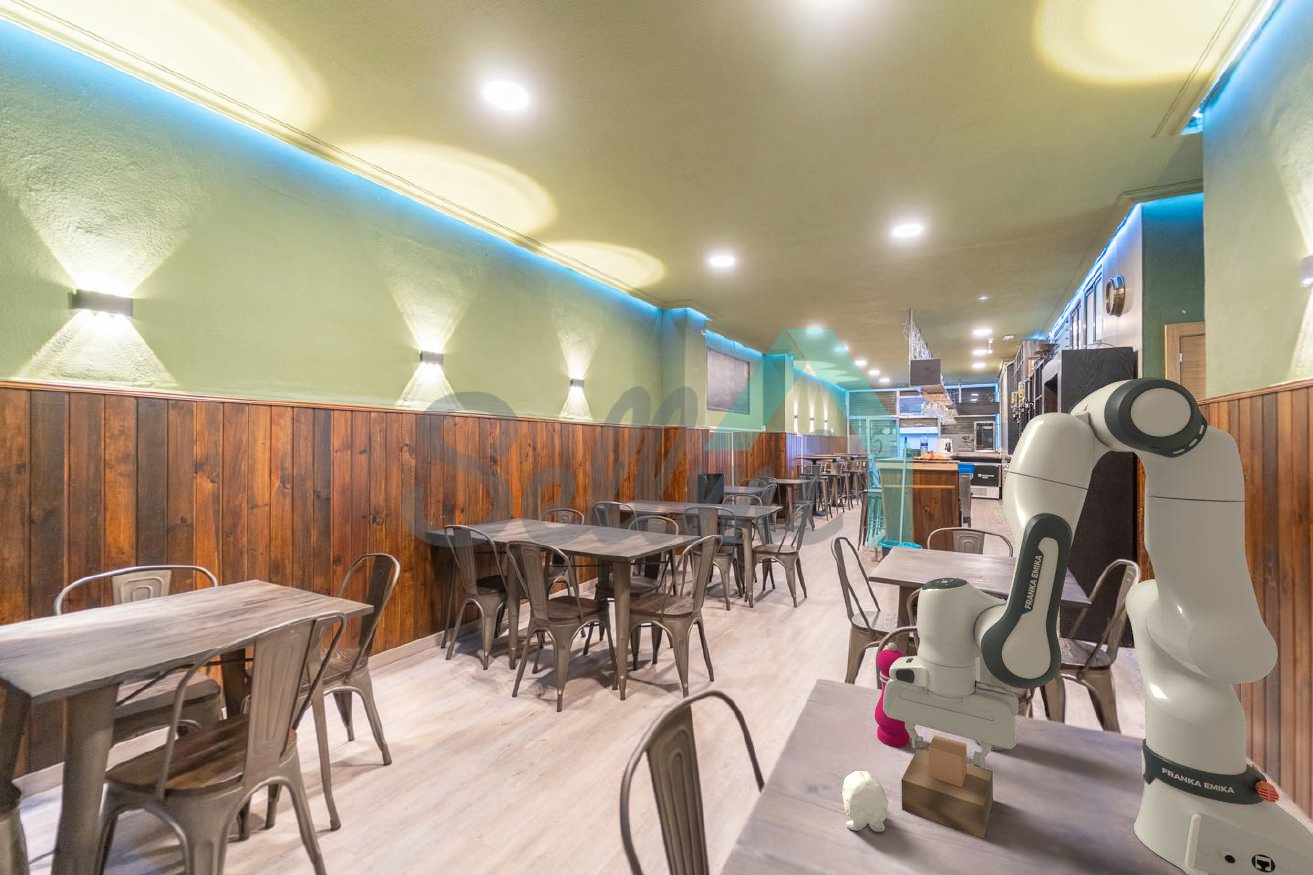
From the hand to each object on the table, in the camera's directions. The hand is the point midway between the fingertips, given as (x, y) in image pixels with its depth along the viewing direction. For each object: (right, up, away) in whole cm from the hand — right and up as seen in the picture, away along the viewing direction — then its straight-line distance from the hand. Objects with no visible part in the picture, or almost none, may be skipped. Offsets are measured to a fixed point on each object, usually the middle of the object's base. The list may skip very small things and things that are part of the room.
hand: (947, 756), depth 96 cm
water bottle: (+20, -9, +20) cm, 29 cm away
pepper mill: (0, -9, +21) cm, 23 cm away
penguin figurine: (-16, -8, -3) cm, 18 cm away
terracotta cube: (0, -3, 0) cm, 3 cm away
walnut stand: (0, -8, 0) cm, 8 cm away
